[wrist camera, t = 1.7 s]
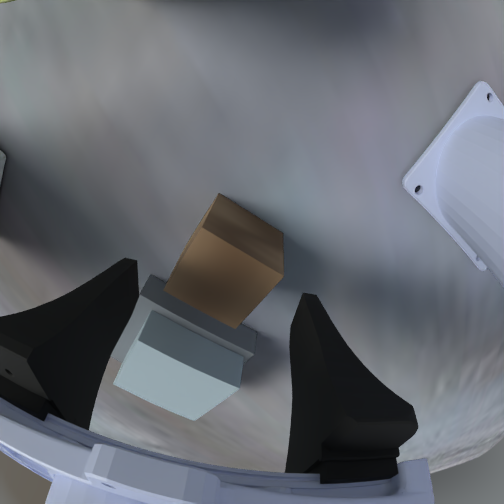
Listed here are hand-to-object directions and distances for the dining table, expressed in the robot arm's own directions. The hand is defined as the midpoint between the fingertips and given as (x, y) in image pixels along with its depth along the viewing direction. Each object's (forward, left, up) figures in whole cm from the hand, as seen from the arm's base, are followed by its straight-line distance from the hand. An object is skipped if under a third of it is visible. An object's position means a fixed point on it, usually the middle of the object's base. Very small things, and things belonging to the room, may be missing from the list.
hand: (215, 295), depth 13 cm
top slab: (-1, +9, -3) cm, 9 cm away
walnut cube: (0, 0, -5) cm, 5 cm away
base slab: (-1, +9, -5) cm, 10 cm away
